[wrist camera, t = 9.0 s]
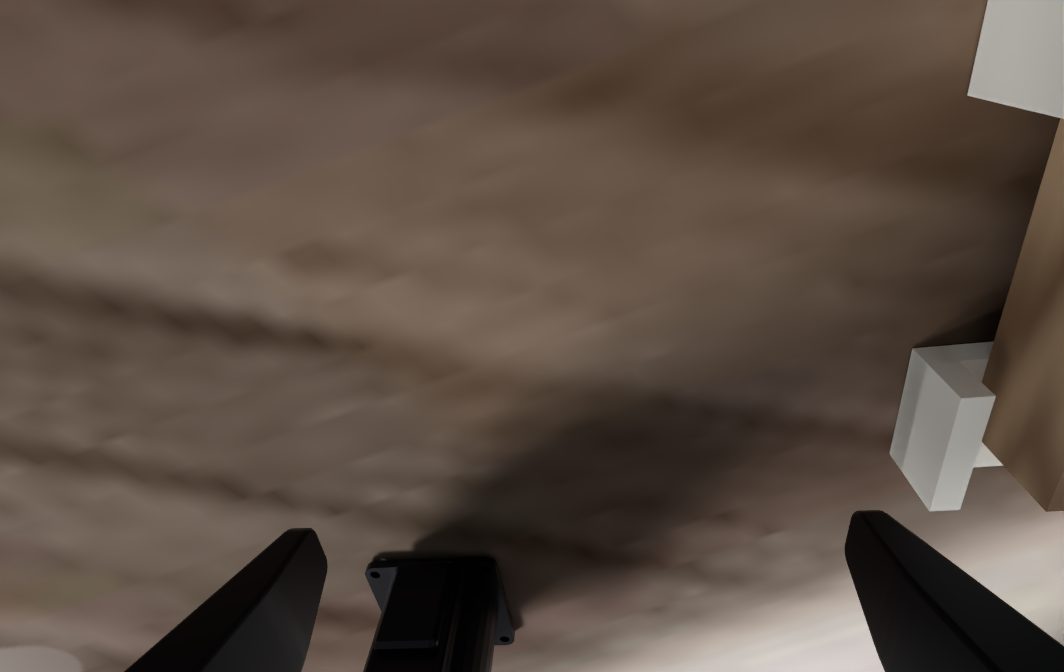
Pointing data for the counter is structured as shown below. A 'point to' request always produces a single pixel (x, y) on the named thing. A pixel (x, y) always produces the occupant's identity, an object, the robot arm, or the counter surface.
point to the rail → (1033, 351)
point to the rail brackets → (957, 370)
